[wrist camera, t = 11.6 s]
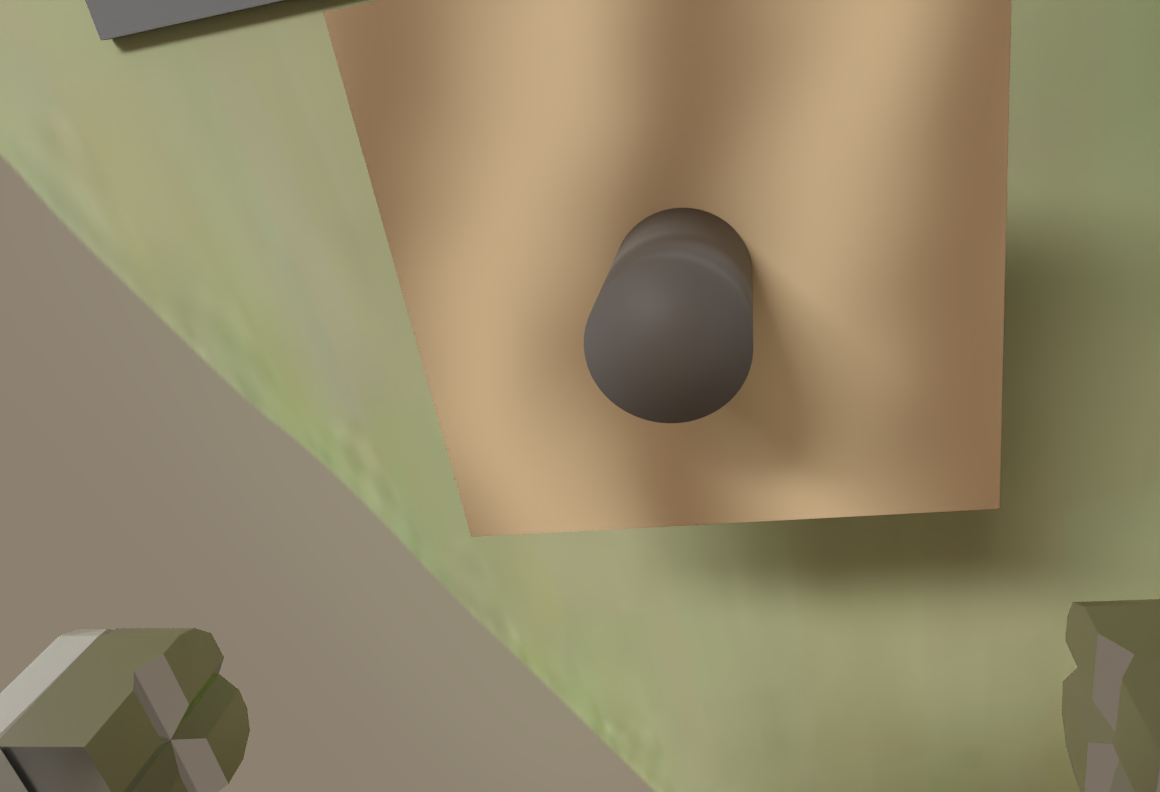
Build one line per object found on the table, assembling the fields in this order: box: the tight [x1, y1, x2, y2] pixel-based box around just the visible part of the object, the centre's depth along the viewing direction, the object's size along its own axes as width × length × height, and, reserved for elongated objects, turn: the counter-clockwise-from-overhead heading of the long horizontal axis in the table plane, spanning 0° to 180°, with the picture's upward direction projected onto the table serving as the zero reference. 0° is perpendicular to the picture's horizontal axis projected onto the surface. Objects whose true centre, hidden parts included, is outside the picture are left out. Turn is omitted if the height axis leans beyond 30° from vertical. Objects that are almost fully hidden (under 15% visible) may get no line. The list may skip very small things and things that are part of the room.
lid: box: [323, 0, 1011, 537], centre depth 17 cm, size 13×13×5 cm
